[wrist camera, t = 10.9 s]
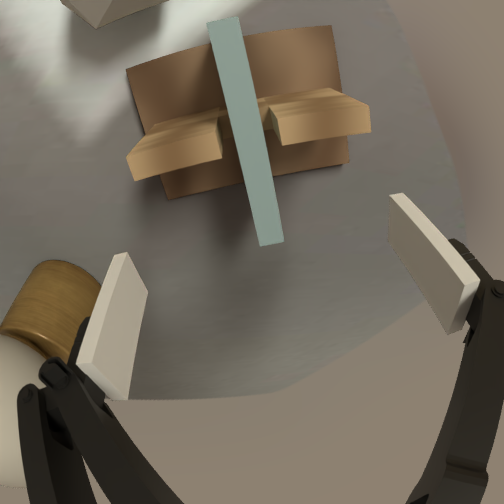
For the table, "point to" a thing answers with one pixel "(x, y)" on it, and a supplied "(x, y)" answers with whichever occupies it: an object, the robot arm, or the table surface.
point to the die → (107, 9)
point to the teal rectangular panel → (246, 126)
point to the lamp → (37, 344)
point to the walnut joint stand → (217, 118)
